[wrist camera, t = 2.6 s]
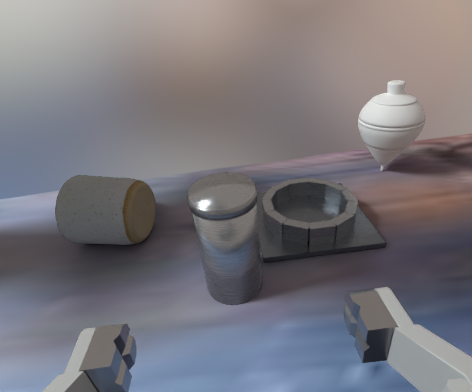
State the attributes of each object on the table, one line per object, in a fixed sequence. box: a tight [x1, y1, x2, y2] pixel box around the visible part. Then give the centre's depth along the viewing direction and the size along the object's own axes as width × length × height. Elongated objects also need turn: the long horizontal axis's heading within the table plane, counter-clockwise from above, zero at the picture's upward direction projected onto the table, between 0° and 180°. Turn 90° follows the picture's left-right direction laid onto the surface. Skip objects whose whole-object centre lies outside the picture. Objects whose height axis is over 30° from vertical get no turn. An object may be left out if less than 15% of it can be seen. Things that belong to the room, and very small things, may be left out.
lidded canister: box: [188, 173, 262, 305], centre depth 25 cm, size 5×5×10 cm
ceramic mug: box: [55, 175, 156, 245], centre depth 35 cm, size 11×8×8 cm
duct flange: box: [256, 178, 386, 263], centre depth 34 cm, size 12×12×3 cm
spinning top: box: [358, 80, 425, 171], centre depth 40 cm, size 8×8×12 cm
